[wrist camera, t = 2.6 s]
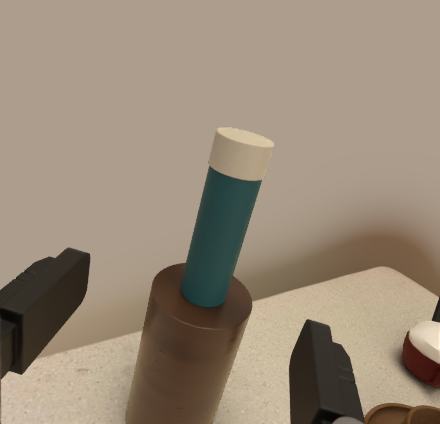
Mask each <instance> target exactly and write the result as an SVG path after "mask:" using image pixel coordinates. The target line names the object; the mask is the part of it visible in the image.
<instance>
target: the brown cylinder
mask: <svg viewBox="0 0 440 424" xmlns="http://www.w3.org/2000/svg"><path fill="white" fill-rule="evenodd" d="M185 265H186V263H181V264H176V265H172V266H169V267H167V268H165V269H163V270H162V271H160V272H159V273H158V274H157V275H156V277H155V278H154V280H153V283H152V288H151V292H150V298H149V302H148V307H147V312H146V318H145V322H144V327H143V332H142V337H141V342H140V347H139V352H138V357H137V362H136V367H135V372H134V377H133V382H132V387H131V392H130V397H129V402H128V407H127V412H126V424H212V423H213V420H214V417H215V414H216V411H217V408H218V406H219V403H220V400H221V397H222V394H223V391H224V388H225V385H226V383H227V380H228V377H229V374H230V371H231V368H232V365H233V363H234V360H235V357H236V354H237V351H238V348H239V345H240V342H241V340H242V337H243V334H244V331H245V328H246V325H247V322H248V320H249V317H250V314H251V311H252V299H251V296H250V294H249V292H248V290H247V289H246V287H245V286H244V285H243V284H242V283H241V282H240V281H239V280H238V279H236V278H235V277H234V276H232V280H231V283H230V286H229V289H228V293H227V296H226V299H225V301H224V302H223V303H222V304H221V305H219V306H216V307H201V306H197V305H195V304H192V303H191V302H189V301H188V300H186V299H185V298H184V296H183V295H182V293H181V290H180V286H181V282H182V278H183V274H184V269H185Z"/></svg>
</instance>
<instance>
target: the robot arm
mask: <svg viewBox="0 0 440 424" xmlns="http://www.w3.org/2000/svg"><path fill="white" fill-rule="evenodd" d="M89 266H90V254H89V253H86V252H82V251H79V250H76V249H72V248H67V249H65V250H64V251H63V252H62V253H61V254H60V255H58V256H57V257H56V258H53V257H47V258H45V259H42V260H39V261H37V262H35V263H33V264H32V265H31V266H30V267H28V268H27V269H26V270H25V271H24V272H22V273H21V274H20V275H19V276H17V277H16V279H13V280H12V281H11V282H10V283H9V284H7V285H6V286H5V287H4V288H2V289H1V290H0V424H1V379H2V378H3V377H4V376H5V375H6V374H7V372H8V371H11V372H14V373H17V374H20V375H22V374H23V373H24V372H25V371H26V369H27V368H28V367H29V366H30V365H31V363H32V362H33V361H34V360H35V359H36V357H37V356H38V355H39V354H40V353H41V351H42V350H43V349H44V347H46V345H47V344H48V343H49V342H50V341H51V339H52V338H53V337H54V336H55V334H56V333H57V332H58V331H59V330H60V328H61V327H62V326H63V325H64V324H65V322H66V321H67V320H68V319H69V318H70V316H71V315H72V314H73V313H74V312H75V310H76V309H77V308H78V307H79V305H80V304H81V303H82V301H83V299H84V297H85V294H86V291H87V284H88V275H89ZM352 372H353V369H352V365H351V361H350V357H349V356H348V354H347V353H346V351H345V350H344V348H343V347H342V345H341V344H337V343H334V342H333V341H332V336H331V330H330V327H329V325H326V324H322V323H319V322H316V321H312V320H309V319H307V320H306V322H305V324H304V326H303V328H302V331H301V333H300V335H299V338H298V340H297V342H296V345H295V347H294V349H293V352H292V355H291V359H290V365H289V384H290V419H291V424H365V420H364V416H363V412H362V407H361V403H360V399H359V395H358V390H357V386H356V384H355V378H354V373H352Z"/></svg>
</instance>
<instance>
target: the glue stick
mask: <svg viewBox="0 0 440 424" xmlns="http://www.w3.org/2000/svg"><path fill="white" fill-rule="evenodd" d="M273 149H274V143H273V142H272V141H271V140H269V139H267V138H265V137H263V136H260V135H258V134H254V133H252V132H248V131H244V130H240V129H235V128H227V127H221V128H217V129H216V132H215V137H214V141H213V145H212V150H211V154H210V158H209V169H208V174H207V178H206V182H205V186H204V190H203V194H202V199H201V203H200V207H199V211H198V215H197V220H196V224H195V228H194V232H193V236H192V240H191V244H190V249H189V253H188V257H187V261H186V265H185V269H184V274H183V278H182V282H181V286H180V290H181V293H182V295H183V296H184V298H185V299H186V300H188V301H189V302H191V303H192V304H195V305H197V306H201V307H216V306H219V305H221V304H222V303H223V302H224V301H225V299H226V296H227V293H228V289H229V286H230V283H231V280H232V276H233V273H234V270H235V266H236V263H237V260H238V257H239V253H240V250H241V247H242V243H243V240H244V237H245V234H246V231H247V227H248V224H249V221H250V217H251V214H252V211H253V208H254V205H255V201H256V198H257V195H258V191H259V188H260V185H261V182H262V179H263V178H264V177H265V175H266V171H267V168H268V165H269V161H270V158H271V155H272V152H273Z"/></svg>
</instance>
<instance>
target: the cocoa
mask: <svg viewBox="0 0 440 424" xmlns="http://www.w3.org/2000/svg"><path fill="white" fill-rule="evenodd" d="M402 358H403V361H404V363H405V365H406V367H407V368H408V369H409V371H411V372H412V373H413V374H414V375H415V376H416V377H417V378H419V379H421V380H422V381H424V382H427V383H428V384H430V385H432V386H434V387H440V297H439V300H438V303H437V306H436V309H435V312H434V315H433V318H432V321H430V320H428V321H424V322H420V323H416V324H415V326H414V327H413V328H412V329H411V330H410V331H408V332H407V335H406V337H405V340H404V344H403V351H402Z"/></svg>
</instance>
